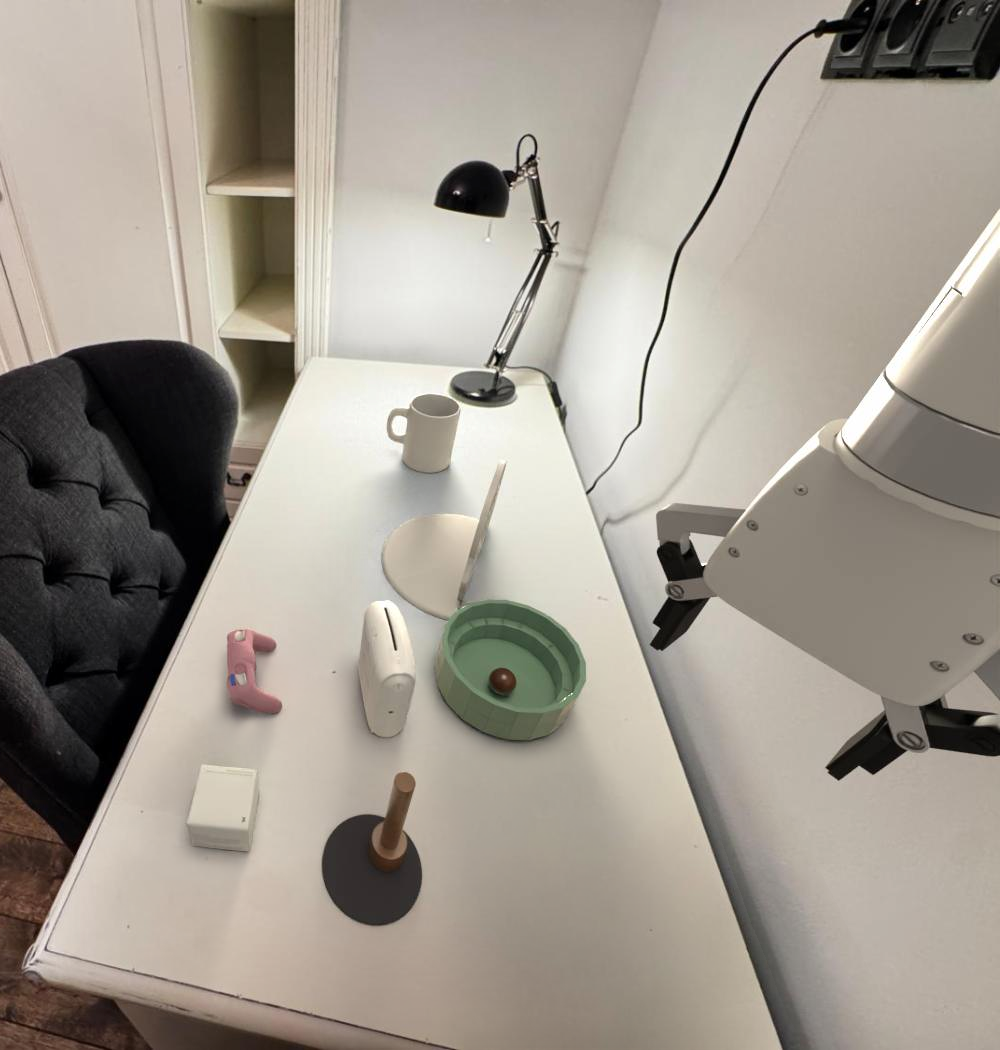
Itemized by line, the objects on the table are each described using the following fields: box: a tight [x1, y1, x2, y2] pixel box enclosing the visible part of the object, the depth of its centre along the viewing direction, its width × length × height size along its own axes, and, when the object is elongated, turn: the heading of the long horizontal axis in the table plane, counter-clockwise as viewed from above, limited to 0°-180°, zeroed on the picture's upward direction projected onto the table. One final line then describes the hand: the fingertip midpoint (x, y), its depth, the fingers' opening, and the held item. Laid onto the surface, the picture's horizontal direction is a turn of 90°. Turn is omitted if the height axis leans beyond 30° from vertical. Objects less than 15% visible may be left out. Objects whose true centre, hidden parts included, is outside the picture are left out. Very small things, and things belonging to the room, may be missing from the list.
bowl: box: [434, 598, 587, 741], centre depth 65 cm, size 15×15×6 cm
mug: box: [386, 393, 462, 474], centre depth 99 cm, size 12×8×11 cm
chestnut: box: [489, 668, 517, 695], centre depth 64 cm, size 3×3×3 cm
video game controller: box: [226, 628, 283, 714], centre depth 65 cm, size 10×5×7 cm, turn 6°
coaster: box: [321, 813, 423, 926], centre depth 52 cm, size 9×9×1 cm
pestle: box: [369, 771, 417, 872], centre depth 48 cm, size 3×3×14 cm
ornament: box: [381, 459, 508, 621], centre depth 78 cm, size 22×13×17 cm, turn 154°
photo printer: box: [357, 600, 417, 738], centre depth 61 cm, size 10×4×12 cm, turn 4°
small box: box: [185, 764, 260, 852], centre depth 53 cm, size 6×6×5 cm
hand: (746, 694), depth 33 cm, fingers open, 9 cm apart
